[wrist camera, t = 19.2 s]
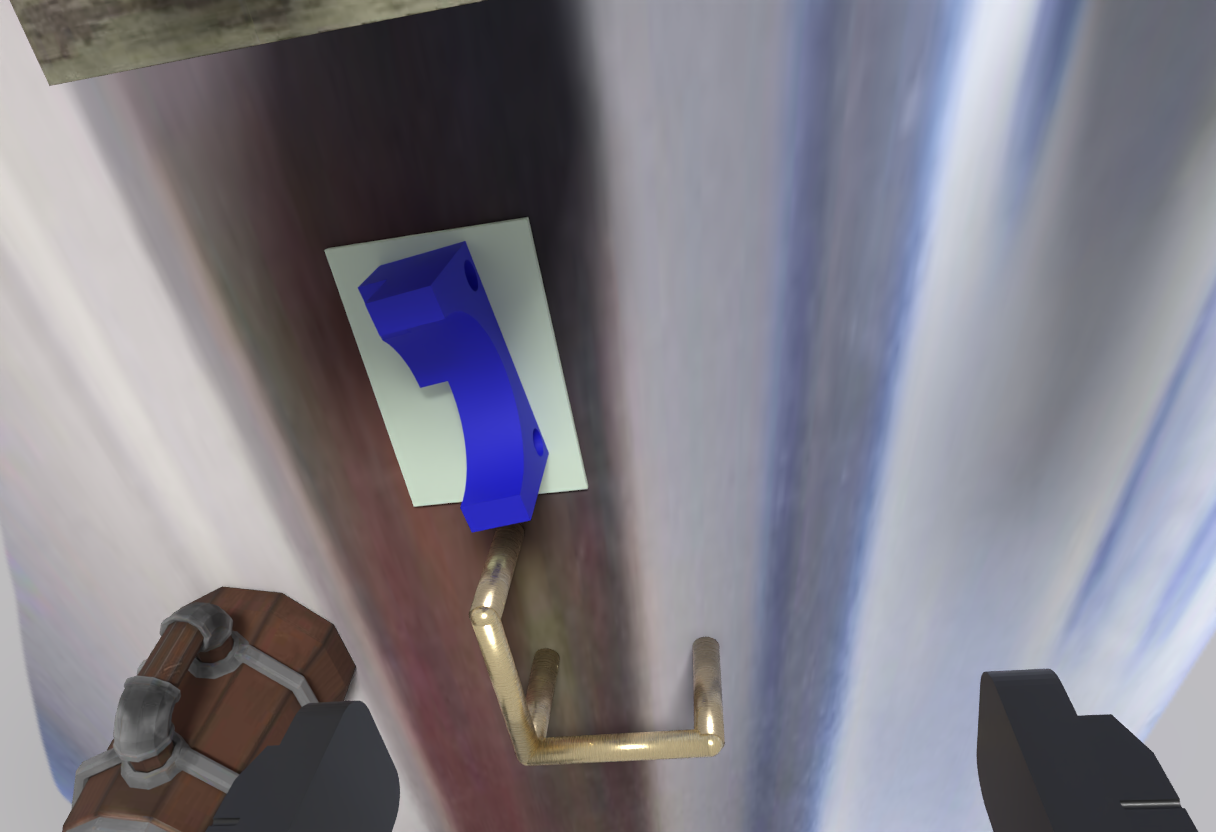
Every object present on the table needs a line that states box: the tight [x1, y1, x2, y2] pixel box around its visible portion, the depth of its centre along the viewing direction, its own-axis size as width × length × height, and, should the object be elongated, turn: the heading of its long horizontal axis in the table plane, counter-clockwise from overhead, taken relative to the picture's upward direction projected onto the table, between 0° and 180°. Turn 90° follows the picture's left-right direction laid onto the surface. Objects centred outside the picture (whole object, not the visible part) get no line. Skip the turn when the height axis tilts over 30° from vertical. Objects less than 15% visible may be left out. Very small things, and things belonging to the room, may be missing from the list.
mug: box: [62, 587, 355, 832], centre depth 45 cm, size 16×12×15 cm
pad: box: [324, 217, 588, 507], centre depth 41 cm, size 10×15×1 cm, turn 10°
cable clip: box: [358, 241, 549, 532], centre depth 38 cm, size 12×4×6 cm, turn 17°
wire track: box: [469, 523, 725, 766], centre depth 45 cm, size 12×12×8 cm
